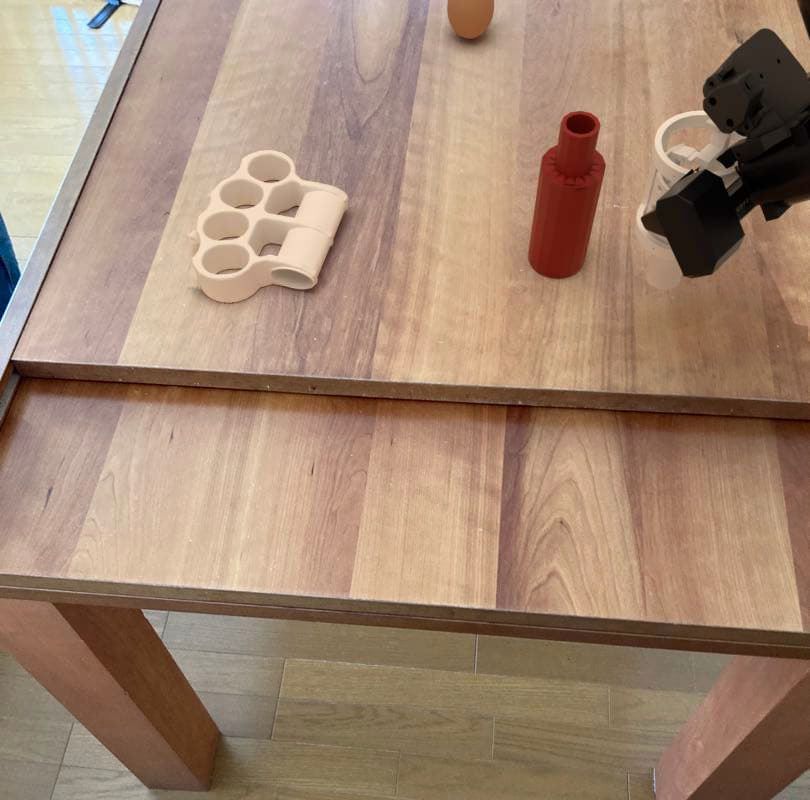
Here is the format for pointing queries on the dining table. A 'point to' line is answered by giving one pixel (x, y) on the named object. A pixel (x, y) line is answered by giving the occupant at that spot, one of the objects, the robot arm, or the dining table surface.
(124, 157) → the dining table surface
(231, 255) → the knuckle duster
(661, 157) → the cream cylindrical cage part
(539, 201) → the sauce bottle
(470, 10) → the egg
